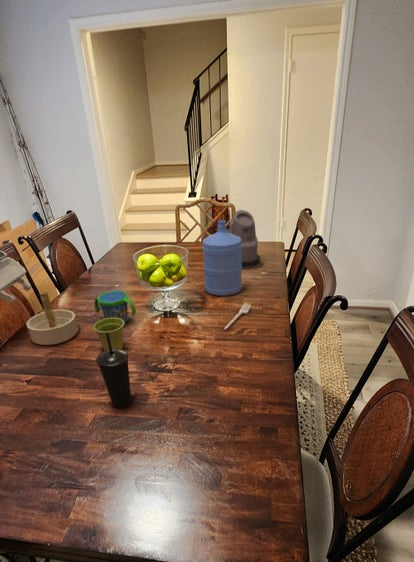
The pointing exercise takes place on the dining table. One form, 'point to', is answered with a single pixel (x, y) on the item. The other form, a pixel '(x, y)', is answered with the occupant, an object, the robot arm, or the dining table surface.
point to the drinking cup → (115, 374)
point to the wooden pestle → (48, 310)
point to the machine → (246, 238)
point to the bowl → (52, 335)
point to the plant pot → (110, 332)
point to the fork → (239, 314)
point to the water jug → (222, 262)
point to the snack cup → (115, 305)
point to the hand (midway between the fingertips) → (22, 294)
